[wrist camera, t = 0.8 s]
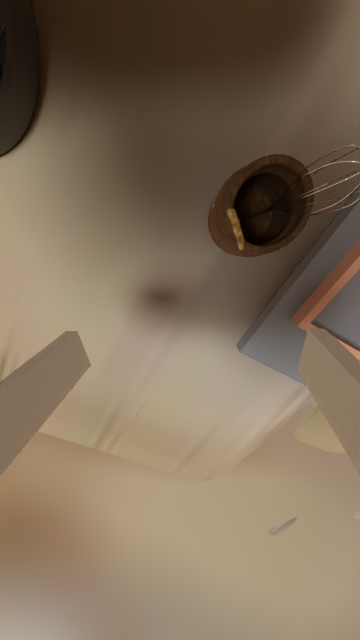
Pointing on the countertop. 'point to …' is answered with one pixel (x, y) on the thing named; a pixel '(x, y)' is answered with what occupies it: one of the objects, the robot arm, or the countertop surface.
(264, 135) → the countertop surface
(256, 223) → the utensil holder
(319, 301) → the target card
